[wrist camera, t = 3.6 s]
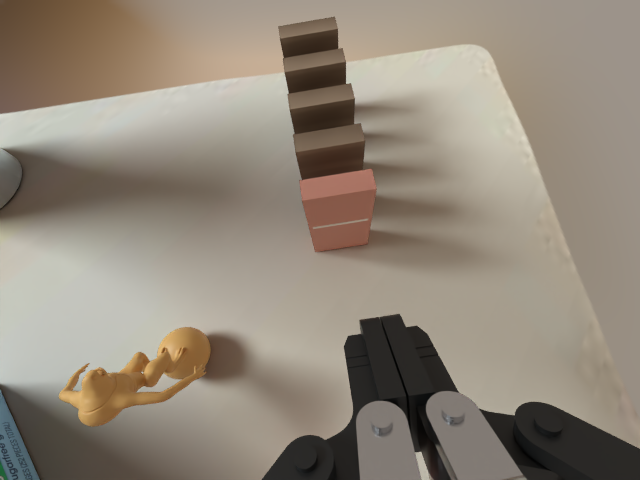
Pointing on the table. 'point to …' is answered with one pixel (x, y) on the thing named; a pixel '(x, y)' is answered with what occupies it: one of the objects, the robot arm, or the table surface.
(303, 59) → the domino
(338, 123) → the domino
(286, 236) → the table surface
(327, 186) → the domino
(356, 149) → the domino
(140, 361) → the figurine
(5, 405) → the gum box
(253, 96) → the table surface
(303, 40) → the domino
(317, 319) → the table surface
